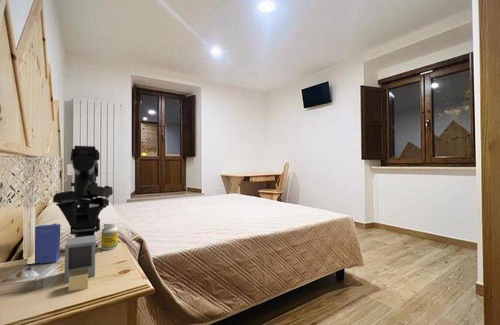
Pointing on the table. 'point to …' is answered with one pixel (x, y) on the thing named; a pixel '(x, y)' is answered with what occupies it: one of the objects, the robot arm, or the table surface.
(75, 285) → the brass cube
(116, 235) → the supplement bottle
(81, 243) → the grey hollow block
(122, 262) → the table surface
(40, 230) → the walkman
